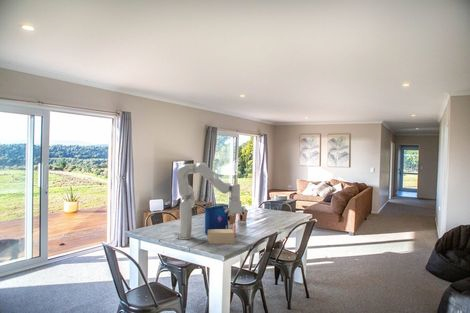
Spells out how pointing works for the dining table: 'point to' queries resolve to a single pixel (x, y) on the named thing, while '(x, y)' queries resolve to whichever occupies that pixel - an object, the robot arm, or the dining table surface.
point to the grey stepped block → (234, 229)
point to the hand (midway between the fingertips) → (235, 220)
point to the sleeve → (220, 236)
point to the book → (216, 217)
